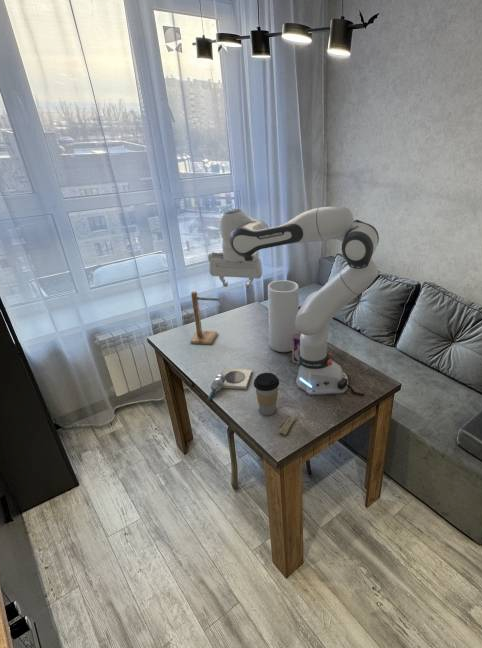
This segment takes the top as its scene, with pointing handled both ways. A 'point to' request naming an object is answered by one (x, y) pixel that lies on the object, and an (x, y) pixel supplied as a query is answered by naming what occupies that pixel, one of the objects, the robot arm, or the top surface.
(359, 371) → the top surface
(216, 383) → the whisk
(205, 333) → the hook stand
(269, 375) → the coffee cup
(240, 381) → the hot plate
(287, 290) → the vase
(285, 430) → the snack bar
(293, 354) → the greeting card
